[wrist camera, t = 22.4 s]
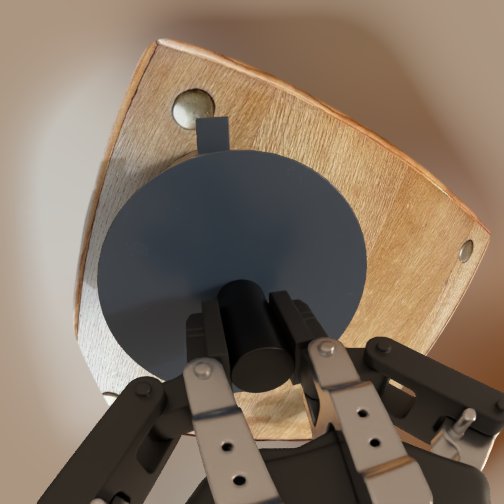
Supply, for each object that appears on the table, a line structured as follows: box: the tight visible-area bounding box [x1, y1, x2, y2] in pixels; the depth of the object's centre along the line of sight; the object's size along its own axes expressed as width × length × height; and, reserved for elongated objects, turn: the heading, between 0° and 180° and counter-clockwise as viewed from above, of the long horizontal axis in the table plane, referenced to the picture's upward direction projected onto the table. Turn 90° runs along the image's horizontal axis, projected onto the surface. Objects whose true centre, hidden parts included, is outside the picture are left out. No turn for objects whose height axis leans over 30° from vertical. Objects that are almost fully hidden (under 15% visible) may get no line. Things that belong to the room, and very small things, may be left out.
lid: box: [97, 150, 367, 393], centre depth 12 cm, size 14×14×6 cm
